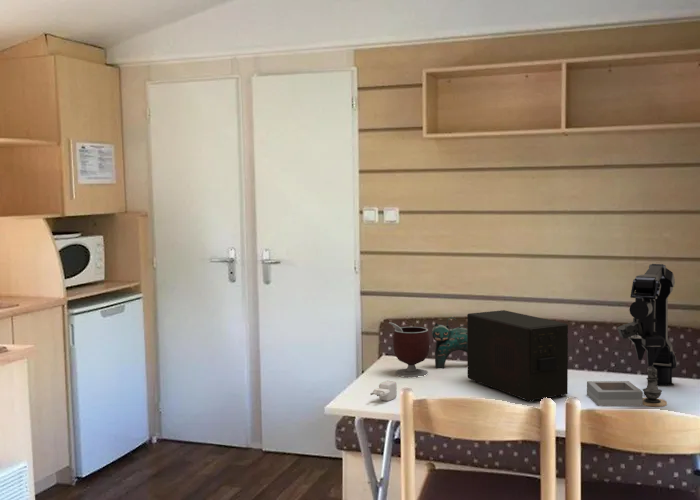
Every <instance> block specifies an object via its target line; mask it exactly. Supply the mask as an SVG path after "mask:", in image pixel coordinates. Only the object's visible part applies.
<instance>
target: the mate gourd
mask: <svg viewBox="0 0 700 500" xmlns="http://www.w3.org/2000/svg"><path fill="white" fill-rule="evenodd" d="M388 325H391V326H392V327H394V331H393V336H392V337H393V338H392V341H393V342H392V345H393V351H394V356H395V357H396V358H397V360H398V361H400V362H401V363H404V364H406V365H407V366H406V367H407V368H401V369H398V370H397V369H396V371H395V375H396V376H397V375H399V376H398V377H401V376H404V377H403V378H408V377H416V378H419V377H418V376H423V377H425V376H424V375H426V374H427V373H429V372H428V371H427V370H425V369H422V368H417V367H416V365H417V364H419V363H422V362H425V359H427V357H428V355H429V352H430V342H431V341H430V335H429V334H430V333H429V328H426V327H422V326H401V327H400V326H399V325H397V324H396V323H394V322H390V321H389V322H388ZM427 375H428V374H427ZM427 375H426V376H427Z"/></svg>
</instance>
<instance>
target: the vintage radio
mask: <svg viewBox="0 0 700 500" xmlns="http://www.w3.org/2000/svg"><path fill="white" fill-rule="evenodd" d="M466 318H467V319H466V320H467V322H466V323H467V324H466V326H467V327H466V329H467V352H466V353H467V356H466V357H467V360H466V361H467V379H469V380H471V381H474V382H475V383H477V382H478V383H480V384H482V385H484V386H487V387H490V388H493V389H496V390H498V391H501V392H504V393H507V394H509V395H512V396H515V397H518V398H520V399H524V400H525V401H526V402H534V400H539V399H540V400H541V399H545V398H544V397H547V398H552V397H556V396H557V398H559V397H558V396H560V397H562V396H564V395H567V394H568V387H569V386H568V382H569V381H568V371H569V370H568V368H569V367H568V366H569V365H568V364H569V363H568V362H569V361H568V360H569V356H568V353H569V349H568V347H569V345H568V344H569V343H568V342H569V325H568V324H567V323H565V322H560V321H556V320H552V319H547V318H542V317H537V316H532V315H528V314H524V313H520V312H519V313H518V312H513V311H509V310H505V309H503V310H502V309H501V310H494V311H493V310H492V311H484V312H472V313H467V314H466Z"/></svg>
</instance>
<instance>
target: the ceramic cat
mask: <svg viewBox="0 0 700 500" xmlns="http://www.w3.org/2000/svg"><path fill="white" fill-rule="evenodd" d="M450 319H453V320H454V321H457V318H455V317H449V318H447V320H446V325H443V324H438V323H435V324H434V327H433V328H432V330H431V336H432V339H433V340H434V341H435V342H436V343H435V351H434V352H435V353H434V357H435V358H434V363H435V368H436V367H437V368H443V369H444V368H446V367H445V366H446V365H445V364H446V360H447V358H448V356H449V355H450V354H451V353H453V352H455V351H462V352H466V353H467V324H466V325H461V326H458V327H455V328H452V327H450V325H449V324H448V322H449V320H450ZM465 327H466V328H465ZM437 368H436V369H437Z"/></svg>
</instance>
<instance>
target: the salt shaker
mask: <svg viewBox="0 0 700 500" xmlns="http://www.w3.org/2000/svg"><path fill="white" fill-rule="evenodd" d="M646 380H647V382H646V383H647V385H646V387H645V388H643V389H642V392H643V396H645V397H647V398H646V399H644V402H647V403H660V402H661V401H660V400H659V399H660V397H661V394H662V392H663V391H662V390H661V389H659V385H657V380H658V378H657V369H656V368H654V367H653V365H652V367H651V366H650V367H649V368H648V369H647V377H646ZM656 398H658V399H656Z"/></svg>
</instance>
